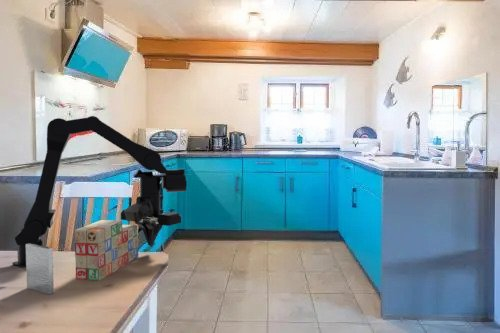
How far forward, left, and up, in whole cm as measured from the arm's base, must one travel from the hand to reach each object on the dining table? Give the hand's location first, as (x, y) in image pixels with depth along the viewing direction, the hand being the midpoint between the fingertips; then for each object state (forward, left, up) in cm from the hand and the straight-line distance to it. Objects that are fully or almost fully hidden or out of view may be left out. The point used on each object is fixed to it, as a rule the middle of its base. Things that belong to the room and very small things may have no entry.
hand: (150, 245), depth 125 cm
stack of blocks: (0, -15, -3) cm, 16 cm away
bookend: (0, -35, -2) cm, 36 cm away
